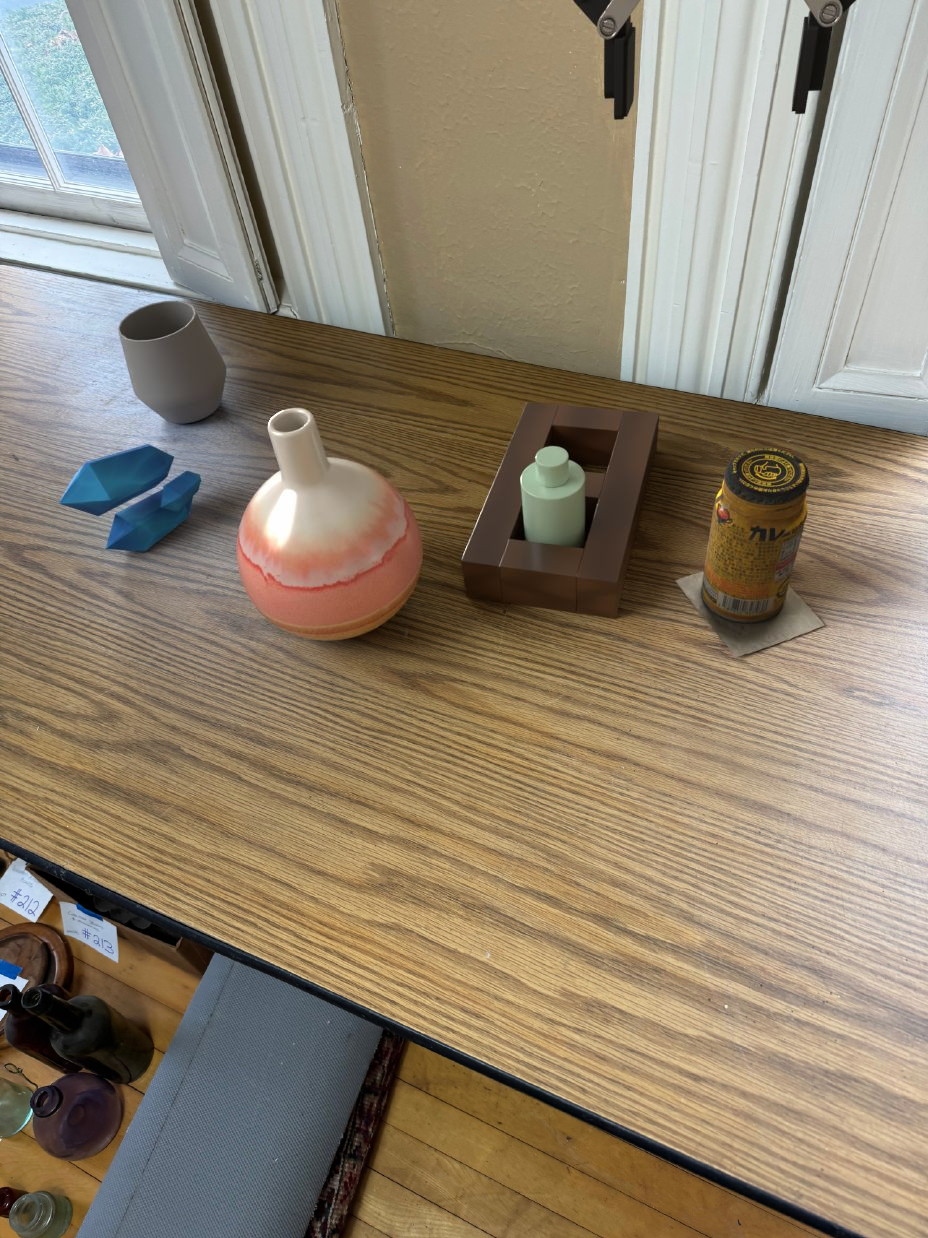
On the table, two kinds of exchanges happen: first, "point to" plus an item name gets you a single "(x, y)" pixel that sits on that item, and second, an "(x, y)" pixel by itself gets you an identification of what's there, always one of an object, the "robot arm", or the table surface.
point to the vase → (326, 540)
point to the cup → (173, 361)
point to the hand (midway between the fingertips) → (709, 108)
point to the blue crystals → (133, 495)
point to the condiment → (755, 553)
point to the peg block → (612, 512)
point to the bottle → (554, 499)
